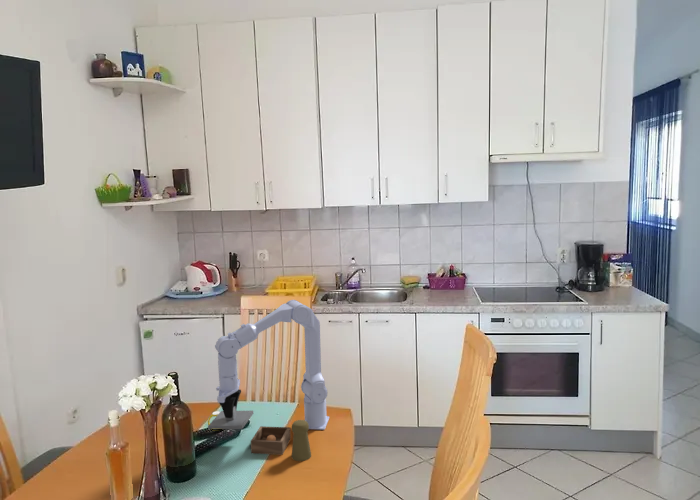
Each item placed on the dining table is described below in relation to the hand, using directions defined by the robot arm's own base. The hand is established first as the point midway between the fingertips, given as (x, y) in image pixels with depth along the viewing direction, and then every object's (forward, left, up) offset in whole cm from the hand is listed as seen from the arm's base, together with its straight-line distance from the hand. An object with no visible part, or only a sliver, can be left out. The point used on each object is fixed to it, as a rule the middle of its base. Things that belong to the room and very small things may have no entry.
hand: (230, 415), depth 169 cm
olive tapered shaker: (+5, +24, -10) cm, 27 cm away
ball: (0, +13, -8) cm, 15 cm away
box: (0, +13, -10) cm, 16 cm away
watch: (-10, -9, -10) cm, 17 cm away
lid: (0, 0, -2) cm, 2 cm away
